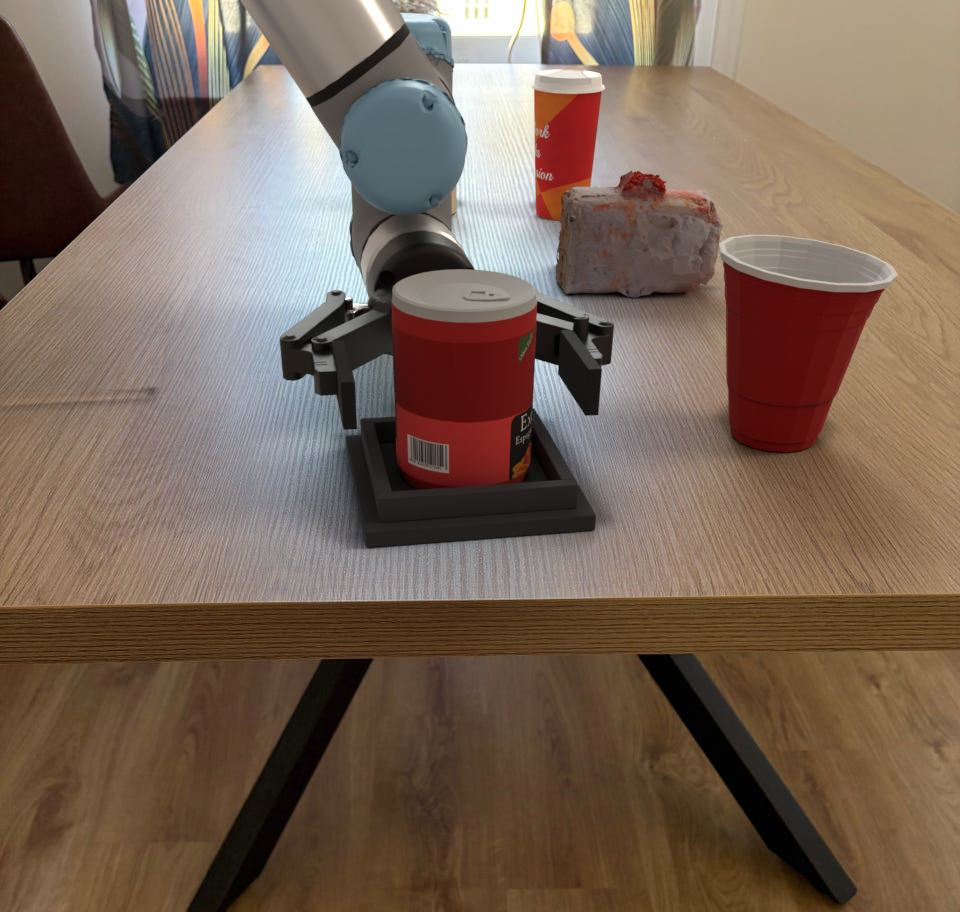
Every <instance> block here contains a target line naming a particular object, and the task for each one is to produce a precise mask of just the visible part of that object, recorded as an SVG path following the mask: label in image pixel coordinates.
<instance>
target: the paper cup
mask: <svg viewBox="0 0 960 912" xmlns="http://www.w3.org/2000/svg"><path fill="white" fill-rule="evenodd" d="M530 88H531V89H532V90H533V102H534V103H533V111H534V113H533V116H534V127H533V128H534V183H535V184H534V185H535V187H534V188H535V190H534V191H535V194H534V195H535V211H536V212H535V213H536V216H538V217H539V218H541V219H546V220H550V221H561V212H562V204H561V196H562V195H563V194H564V192H566V191H570V190H571V188H572V187H591V185H592V184H591V183H592V175H593V169H594V168H593V167H594V159H595V151H596V145H597V144H596V143H597V135H598V134H597V133H598V125H599V117H600V110H601V100H602V92H604V91H605V90H606V86H605V85H604V84H603V76H602V74H601V72H596V71H592V70H585V69H583V70H579V69H573V68H572V69H571V68H570V69H569V68H568V69H563V68H554V69H544V70H543V69H542V70H539V71H537V72H536V73H535V76H534V82H533V83H532V84H531V85H530ZM564 198H565V197H564V196H563V198H562V199H564Z"/></svg>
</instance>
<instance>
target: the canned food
mask: <svg viewBox="0 0 960 912" xmlns="http://www.w3.org/2000/svg"><path fill="white" fill-rule="evenodd" d="M536 290H537V288H536V287H535V286H534V285H533V284H532V283H530V282H529V281H527V280H525V279H522V278H520V277H518V276H515V275H512V274H508V273H504V272H498V271H492V270H483V269H475V270H472V269H453V270H438V271H430V272H424V273H420V274H416V275H412V276H410V277H407V278H404V279H402V280H401V281H399V282H397V283H396V284H395V285H394V286H393V290H392V300H391V303H392V345H393V356H392V369H393V370H392V371H393V373H392V374H393V399H394V416H395V429H396V457H397V462H398V465H399V468H400V471H401V474H402V477H403V478H404V479H405V480H406V482H408V483H409V484H410V485H412V486H413V487H415V488H417V489H419V490H424V489H438V488H453V487H467V486H482V485H496V484H510V483H520V482H521V481H522V480H523V479H524V477H525V474H526V472H527V469H528V467H529V464H530V454H531V433H532V412H533V408H534V387H535V369H536V359H535V349H536V328H537V299H536Z"/></svg>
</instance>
